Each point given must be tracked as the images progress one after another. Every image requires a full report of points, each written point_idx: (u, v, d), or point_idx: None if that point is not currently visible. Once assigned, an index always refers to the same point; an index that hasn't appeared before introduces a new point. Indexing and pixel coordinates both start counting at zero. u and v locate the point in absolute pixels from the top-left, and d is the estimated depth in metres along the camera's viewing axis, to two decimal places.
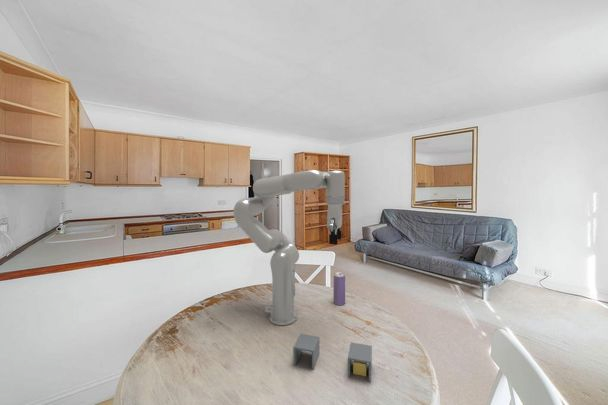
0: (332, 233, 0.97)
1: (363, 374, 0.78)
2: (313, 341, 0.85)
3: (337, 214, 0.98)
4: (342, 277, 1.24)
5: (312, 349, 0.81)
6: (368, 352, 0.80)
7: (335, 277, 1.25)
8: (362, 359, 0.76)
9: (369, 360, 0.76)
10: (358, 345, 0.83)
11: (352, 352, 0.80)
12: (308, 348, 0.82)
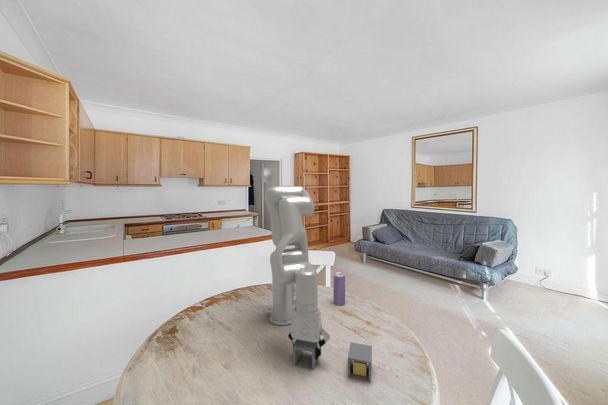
0: None
1: (363, 374, 0.78)
2: None
3: None
4: (342, 277, 1.24)
5: (312, 349, 0.81)
6: (368, 352, 0.80)
7: (335, 277, 1.25)
8: (362, 359, 0.76)
9: (369, 360, 0.76)
10: (358, 345, 0.83)
11: (352, 352, 0.80)
12: (308, 348, 0.82)
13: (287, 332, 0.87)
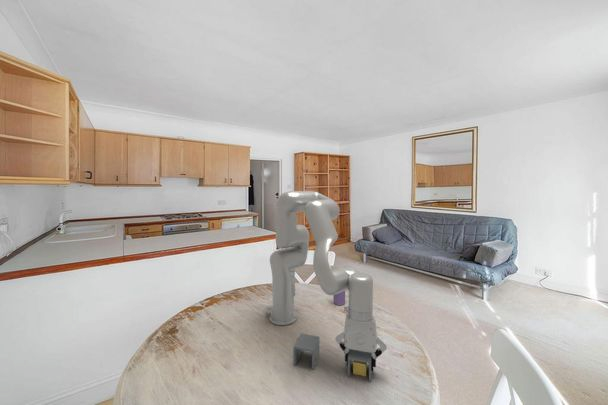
0: None
1: (363, 374, 0.78)
2: (313, 341, 0.86)
3: None
4: None
5: (312, 349, 0.81)
6: None
7: None
8: (362, 359, 0.76)
9: (369, 360, 0.76)
10: None
11: (352, 352, 0.80)
12: (308, 348, 0.82)
13: (338, 341, 0.81)
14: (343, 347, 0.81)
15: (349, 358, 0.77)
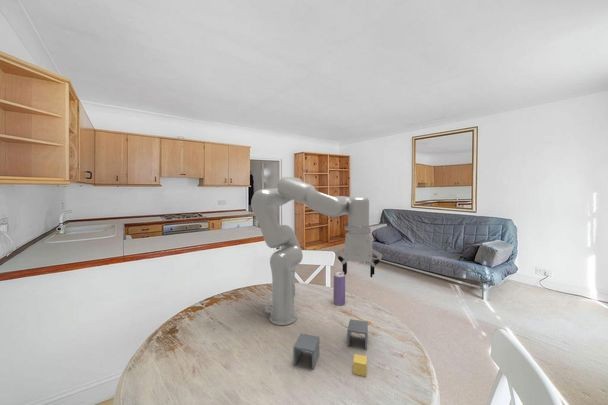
0: None
1: (363, 374, 0.78)
2: (313, 341, 0.86)
3: None
4: (342, 277, 1.24)
5: (312, 349, 0.81)
6: (364, 326, 0.95)
7: (335, 277, 1.25)
8: (359, 331, 0.91)
9: (365, 332, 0.91)
10: (356, 321, 0.98)
11: (351, 326, 0.94)
12: (308, 348, 0.82)
13: (338, 254, 0.95)
14: (341, 259, 0.94)
15: (348, 330, 0.92)
